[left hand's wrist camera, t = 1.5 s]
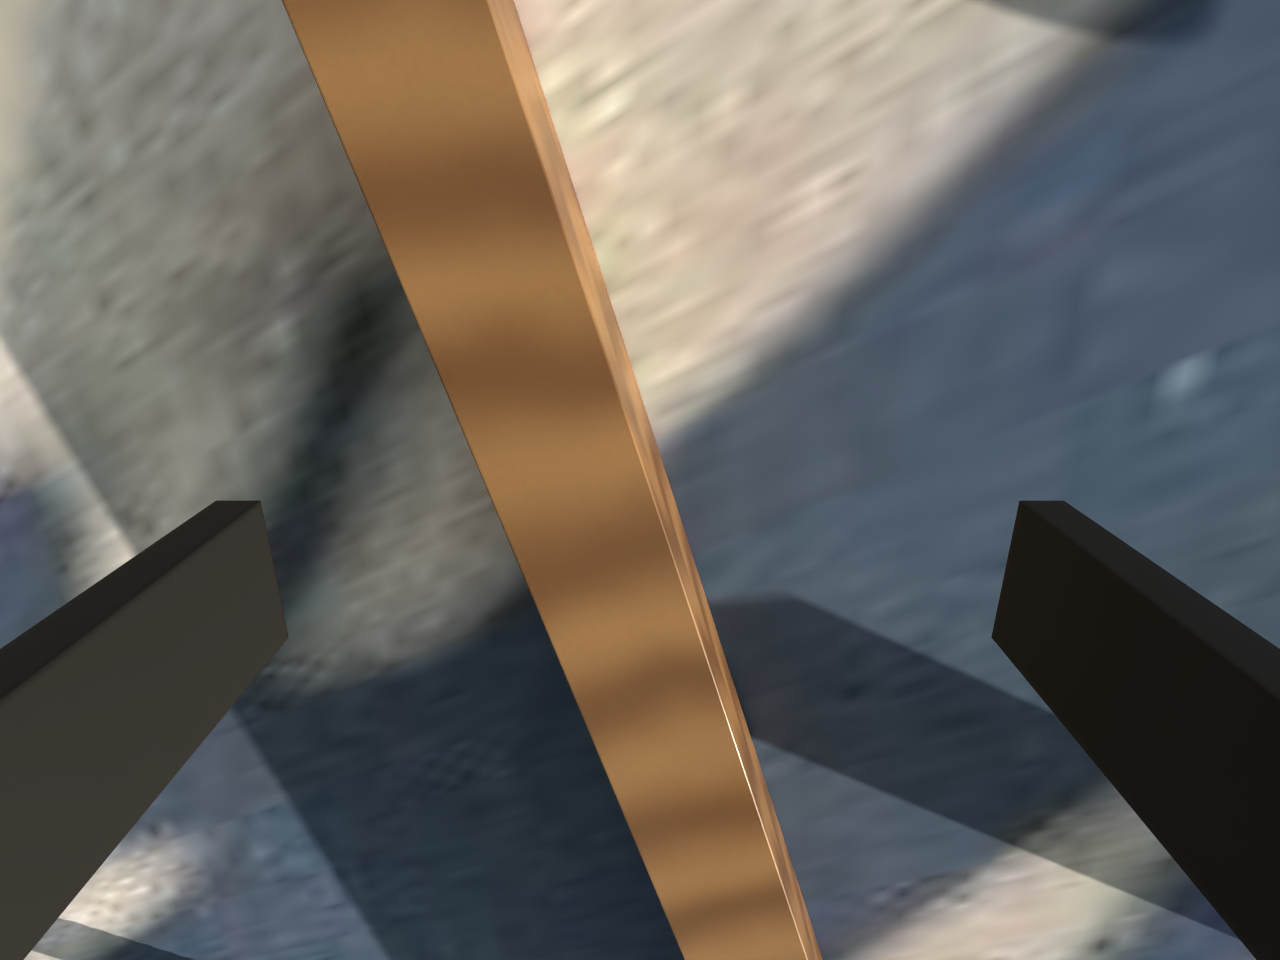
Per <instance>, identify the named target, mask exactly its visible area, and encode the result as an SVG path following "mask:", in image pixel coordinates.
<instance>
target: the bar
mask: <svg viewBox="0 0 1280 960" xmlns="http://www.w3.org/2000/svg"><path fill="white" fill-rule="evenodd" d="M282 2H283V4H284V7H285V9H286V11H287V14H288V16H289V18H290V21H291V23H292V26H293V28H294V30H295V33H296V35H297V38H298V40H299V42H300V45H301V47H302V49H303V52H304V54H305V57H306V59H307V61H308V64H309V66H310V69H311V71H312V73H313V76H314V78H315V80H316V83H317V85H318V88H319V90H320V92H321V95H322V97H323V99H324V102H325V104H326V107H327V109H328V111H329V114H330V116H331V119H332V121H333V123H334V126H335V128H336V130H337V133H338V135H339V138H340V140H341V142H342V145H343V147H344V150H345V152H346V154H347V157H348V159H349V161H350V164H351V166H352V169H353V171H354V173H355V176H356V178H357V181H358V183H359V185H360V188H361V190H362V192H363V195H364V197H365V200H366V202H367V204H368V207H369V209H370V211H371V214H372V216H373V219H374V221H375V223H376V226H377V228H378V231H379V233H380V235H381V238H382V240H383V242H384V245H385V247H386V250H387V252H388V254H389V257H390V259H391V262H392V264H393V266H394V269H395V271H396V273H397V276H398V278H399V281H400V283H401V285H402V288H403V290H404V293H405V295H406V297H407V300H408V302H409V304H410V307H411V309H412V312H413V314H414V316H415V319H416V321H417V323H418V326H419V328H420V331H421V333H422V335H423V338H424V340H425V343H426V345H427V347H428V350H429V352H430V354H431V357H432V359H433V362H434V364H435V366H436V369H437V371H438V374H439V376H440V378H441V381H442V383H443V385H444V388H445V390H446V393H447V395H448V397H449V400H450V402H451V405H452V407H453V409H454V412H455V414H456V416H457V419H458V421H459V424H460V426H461V428H462V431H463V433H464V435H465V438H466V440H467V443H468V445H469V447H470V450H471V452H472V455H473V457H474V459H475V462H476V464H477V466H478V469H479V471H480V474H481V476H482V478H483V481H484V483H485V486H486V488H487V490H488V493H489V495H490V497H491V500H492V502H493V505H494V507H495V509H496V512H497V514H498V517H499V519H500V521H501V524H502V526H503V528H504V531H505V533H506V536H507V538H508V540H509V543H510V545H511V547H512V550H513V552H514V555H515V557H516V559H517V562H518V564H519V567H520V569H521V571H522V574H523V576H524V578H525V581H526V583H527V586H528V588H529V590H530V593H531V595H532V598H533V600H534V602H535V605H536V607H537V609H538V612H539V614H540V617H541V619H542V621H543V624H544V626H545V629H546V631H547V633H548V636H549V638H550V640H551V643H552V645H553V648H554V650H555V652H556V655H557V657H558V659H559V662H560V664H561V667H562V669H563V671H564V674H565V676H566V679H567V681H568V683H569V686H570V688H571V690H572V693H573V695H574V698H575V700H576V702H577V705H578V707H579V710H580V712H581V714H582V717H583V719H584V721H585V724H586V726H587V729H588V731H589V733H590V736H591V738H592V740H593V743H594V745H595V748H596V750H597V752H598V755H599V757H600V760H601V762H602V764H603V767H604V769H605V771H606V774H607V776H608V779H609V781H610V783H611V786H612V788H613V791H614V793H615V795H616V798H617V800H618V802H619V805H620V807H621V810H622V812H623V814H624V817H625V819H626V822H627V824H628V826H629V829H630V831H631V833H632V836H633V838H634V841H635V843H636V845H637V848H638V850H639V852H640V855H641V857H642V860H643V862H644V864H645V867H646V869H647V872H648V874H649V876H650V879H651V881H652V883H653V886H654V888H655V891H656V893H657V895H658V898H659V900H660V903H661V905H662V907H663V910H664V912H665V914H666V917H667V919H668V922H669V924H670V926H671V929H672V931H673V934H674V936H675V938H676V941H677V943H678V945H679V948H680V950H681V953H682V955H683V957H684V960H823V959H822V956H821V953H820V950H819V947H818V944H817V940H816V937H815V934H814V931H813V928H812V925H811V922H810V919H809V916H808V913H807V909H806V906H805V903H804V900H803V897H802V894H801V891H800V888H799V885H798V882H797V878H796V875H795V872H794V869H793V866H792V863H791V860H790V857H789V854H788V850H787V847H786V844H785V841H784V838H783V835H782V832H781V829H780V826H779V823H778V819H777V816H776V813H775V810H774V807H773V804H772V801H771V798H770V795H769V792H768V788H767V785H766V782H765V779H764V776H763V773H762V770H761V767H760V764H759V761H758V757H757V754H756V751H755V748H754V745H753V742H752V739H751V736H750V733H749V729H748V726H747V723H746V720H745V717H744V714H743V711H742V708H741V705H740V702H739V698H738V695H737V692H736V689H735V686H734V683H733V680H732V677H731V674H730V671H729V667H728V664H727V661H726V658H725V655H724V652H723V649H722V646H721V643H720V640H719V636H718V633H717V630H716V627H715V624H714V621H713V618H712V615H711V612H710V608H709V605H708V602H707V599H706V596H705V593H704V590H703V587H702V584H701V581H700V577H699V574H698V571H697V568H696V565H695V562H694V559H693V556H692V553H691V550H690V546H689V543H688V540H687V537H686V534H685V531H684V528H683V525H682V522H681V519H680V515H679V512H678V509H677V506H676V503H675V500H674V497H673V494H672V491H671V487H670V484H669V481H668V478H667V475H666V472H665V469H664V466H663V463H662V460H661V456H660V453H659V450H658V447H657V444H656V441H655V438H654V435H653V432H652V429H651V425H650V422H649V419H648V416H647V413H646V410H645V407H644V404H643V401H642V398H641V394H640V391H639V388H638V385H637V382H636V379H635V376H634V373H633V370H632V367H631V363H630V360H629V357H628V354H627V351H626V348H625V345H624V342H623V339H622V335H621V332H620V329H619V326H618V323H617V320H616V317H615V314H614V311H613V308H612V304H611V301H610V298H609V295H608V292H607V289H606V286H605V283H604V280H603V277H602V273H601V270H600V267H599V264H598V261H597V258H596V255H595V252H594V249H593V246H592V242H591V239H590V236H589V233H588V230H587V227H586V224H585V221H584V218H583V214H582V211H581V208H580V205H579V202H578V199H577V196H576V193H575V190H574V187H573V183H572V180H571V177H570V174H569V171H568V168H567V165H566V162H565V159H564V156H563V152H562V149H561V146H560V143H559V140H558V137H557V134H556V131H555V128H554V125H553V121H552V118H551V115H550V112H549V109H548V106H547V103H546V100H545V97H544V93H543V90H542V87H541V84H540V81H539V78H538V75H537V72H536V69H535V66H534V62H533V59H532V56H531V53H530V50H529V47H528V44H527V41H526V38H525V35H524V31H523V28H522V25H521V22H520V19H519V16H518V13H517V10H516V7H515V4H514V0H282Z"/></svg>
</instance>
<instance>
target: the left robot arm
mask: <svg viewBox="0 0 1280 960" xmlns="http://www.w3.org/2000/svg"><path fill="white" fill-rule="evenodd" d="M287 638H288V633H287V628H286V623H285V618H284V613H283V608H282V604H281V599H280V594H279V589H278V584H277V579H276V574H275V569H274V564H273V560H272V555H271V550H270V545H269V540H268V535H267V530H266V525H265V521H264V516H263V511H262V506H261V501H215V502H214V503H212V504H211V505H209V506H208V507H206V508H205V509H203V510H202V511H201V512H199V513H198V514H196V515H195V516H193V517H192V518H190V519H189V520H187V521H186V522H185V523H183V524H182V525H180V526H179V527H177V528H176V529H174V530H173V531H171V532H170V533H169V534H167V535H166V536H164V537H163V538H161V539H160V540H158V541H157V542H155V543H154V544H153V545H151V546H150V547H148V548H147V549H145V550H144V551H142V552H141V553H139V554H138V555H136V556H135V557H134V558H132V559H131V560H129V561H128V562H126V563H125V564H123V565H122V566H120V567H119V568H118V569H116V570H115V571H113V572H112V573H110V574H109V575H107V576H106V577H104V578H103V579H102V580H100V581H99V582H97V583H96V584H94V585H93V586H91V587H90V588H88V589H87V590H86V591H84V592H83V593H81V594H80V595H78V596H77V597H75V598H74V599H72V600H71V601H70V602H68V603H67V604H65V605H64V606H62V607H61V608H59V609H58V610H56V611H55V612H54V613H52V614H51V615H49V616H48V617H46V618H45V619H43V620H42V621H40V622H39V623H38V624H36V625H35V626H33V627H32V628H30V629H29V630H27V631H26V632H24V633H23V634H22V635H20V636H19V637H17V638H16V639H14V640H13V641H11V642H10V643H8V644H7V645H6V646H4V647H3V648H1V649H0V960H24V958H25V957H26V956H27V955H28V954H29V952H30V951H31V950H32V949H33V947H34V946H35V945H36V944H37V943H38V941H39V940H40V939H41V938H42V937H43V935H44V934H45V933H46V932H47V930H48V929H49V928H50V927H51V926H52V924H53V923H54V922H55V921H56V919H57V918H58V917H59V916H60V915H61V913H62V912H63V911H64V910H65V909H66V907H67V906H68V905H69V904H70V902H71V901H72V900H73V899H74V898H75V896H76V895H77V894H78V893H79V892H80V890H81V889H82V888H83V887H84V885H85V884H86V883H87V882H88V881H89V879H90V878H91V877H92V876H93V874H94V873H95V872H96V871H97V870H98V868H99V867H100V866H101V865H102V864H103V862H104V861H105V860H106V859H107V857H108V856H109V855H110V854H111V853H112V851H113V850H114V849H115V848H116V846H117V845H118V844H119V843H120V842H121V840H122V839H123V838H124V837H125V836H126V834H127V833H128V832H129V831H130V829H131V828H132V827H133V826H134V825H135V823H136V822H137V821H138V820H139V818H140V817H141V816H142V815H143V814H144V812H145V811H146V810H147V809H148V808H149V806H150V805H151V804H152V803H153V801H154V800H155V799H156V798H157V797H158V795H159V794H160V793H161V792H162V791H163V789H164V788H165V787H166V786H167V784H168V783H169V782H170V781H171V780H172V778H173V777H174V776H175V775H176V773H177V772H178V771H179V770H180V769H181V767H182V766H183V765H184V764H185V763H186V761H187V760H188V759H189V758H190V756H191V755H192V754H193V753H194V752H195V750H196V749H197V748H198V747H199V745H200V744H201V743H202V742H203V741H204V739H205V738H206V737H207V736H208V735H209V733H210V732H211V731H212V730H213V728H214V727H215V726H216V725H217V724H218V722H219V721H220V720H221V719H222V718H223V716H224V715H225V714H226V713H227V711H228V710H229V709H230V708H231V707H232V705H233V704H234V703H235V702H236V700H237V699H238V698H239V697H240V696H241V694H242V693H243V692H244V691H245V690H246V688H247V687H248V686H249V685H250V683H251V682H252V681H253V680H254V679H255V677H256V676H257V675H258V674H259V672H260V671H261V670H262V669H263V668H264V666H265V665H266V664H267V663H268V662H269V660H270V659H271V658H272V657H273V655H274V654H275V653H276V652H277V651H278V649H279V648H280V647H281V646H282V645H283V643H284V642H285V641H286V640H287ZM992 638H993V640H994V641H995V642H996V643H997V645H998V646H999V647H1000V648H1001V649H1002V651H1003V652H1004V653H1005V654H1006V655H1007V657H1008V658H1009V659H1010V660H1011V662H1012V663H1013V664H1014V665H1015V666H1016V668H1017V669H1018V670H1019V671H1020V672H1021V674H1022V675H1023V676H1024V677H1025V679H1026V680H1027V681H1028V682H1029V683H1030V685H1031V686H1032V687H1033V688H1034V690H1035V691H1036V692H1037V693H1038V694H1039V696H1040V697H1041V698H1042V699H1043V700H1044V702H1045V703H1046V704H1047V705H1048V707H1049V708H1050V709H1051V710H1052V711H1053V713H1054V714H1055V715H1056V716H1057V718H1058V719H1059V720H1060V721H1061V722H1062V724H1063V725H1064V726H1065V727H1066V728H1067V730H1068V731H1069V732H1070V733H1071V735H1072V736H1073V737H1074V738H1075V739H1076V741H1077V742H1078V743H1079V744H1080V745H1081V747H1082V748H1083V749H1084V750H1085V752H1086V753H1087V754H1088V755H1089V756H1090V758H1091V759H1092V760H1093V761H1094V763H1095V764H1096V765H1097V766H1098V767H1099V769H1100V770H1101V771H1102V772H1103V773H1104V775H1105V776H1106V777H1107V778H1108V780H1109V781H1110V782H1111V783H1112V784H1113V786H1114V787H1115V788H1116V789H1117V791H1118V792H1119V793H1120V794H1121V795H1122V797H1123V798H1124V799H1125V800H1126V801H1127V803H1128V804H1129V805H1130V806H1131V808H1132V809H1133V810H1134V811H1135V812H1136V814H1137V815H1138V816H1139V817H1140V819H1141V820H1142V821H1143V822H1144V823H1145V825H1146V826H1147V827H1148V828H1149V829H1150V831H1151V832H1152V833H1153V834H1154V836H1155V837H1156V838H1157V839H1158V840H1159V842H1160V843H1161V844H1162V845H1163V846H1164V848H1165V849H1166V850H1167V851H1168V853H1169V854H1170V855H1171V856H1172V857H1173V859H1174V860H1175V861H1176V862H1177V864H1178V865H1179V866H1180V867H1181V868H1182V870H1183V871H1184V872H1185V873H1186V874H1187V876H1188V877H1189V878H1190V879H1191V881H1192V882H1193V883H1194V884H1195V885H1196V887H1197V888H1198V889H1199V890H1200V892H1201V893H1202V894H1203V895H1204V896H1205V898H1206V899H1207V900H1208V901H1209V902H1210V904H1211V905H1212V906H1213V907H1214V909H1215V910H1216V911H1217V912H1218V913H1219V915H1220V916H1221V917H1222V918H1223V919H1224V921H1225V922H1226V923H1227V924H1228V926H1229V927H1230V928H1231V929H1232V930H1233V932H1234V933H1235V934H1236V935H1237V937H1238V938H1239V939H1240V940H1241V941H1242V943H1243V944H1244V945H1245V946H1246V947H1247V949H1248V950H1249V951H1250V952H1251V954H1252V955H1253V956H1254V957H1255V958H1256V960H1280V649H1279V648H1277V647H1276V646H1274V645H1273V644H1272V643H1270V642H1269V641H1267V640H1266V639H1264V638H1263V637H1261V636H1260V635H1258V634H1257V633H1256V632H1254V631H1253V630H1251V629H1250V628H1248V627H1247V626H1245V625H1244V624H1242V623H1241V622H1240V621H1238V620H1237V619H1235V618H1234V617H1232V616H1231V615H1229V614H1228V613H1226V612H1225V611H1224V610H1222V609H1221V608H1219V607H1218V606H1216V605H1215V604H1213V603H1212V602H1210V601H1209V600H1208V599H1206V598H1205V597H1203V596H1202V595H1200V594H1199V593H1197V592H1196V591H1194V590H1193V589H1192V588H1190V587H1189V586H1187V585H1186V584H1184V583H1183V582H1181V581H1180V580H1178V579H1177V578H1176V577H1174V576H1173V575H1171V574H1170V573H1168V572H1167V571H1165V570H1164V569H1162V568H1161V567H1160V566H1158V565H1157V564H1155V563H1154V562H1152V561H1151V560H1149V559H1148V558H1146V557H1145V556H1144V555H1142V554H1141V553H1139V552H1138V551H1136V550H1135V549H1133V548H1132V547H1130V546H1129V545H1127V544H1126V543H1125V542H1123V541H1122V540H1120V539H1119V538H1117V537H1116V536H1114V535H1113V534H1111V533H1110V532H1109V531H1107V530H1106V529H1104V528H1103V527H1101V526H1100V525H1098V524H1097V523H1095V522H1094V521H1093V520H1091V519H1090V518H1088V517H1087V516H1085V515H1084V514H1082V513H1081V512H1079V511H1078V510H1077V509H1075V508H1074V507H1072V506H1071V505H1069V504H1068V503H1066V502H1065V501H1019V506H1018V511H1017V516H1016V520H1015V525H1014V530H1013V535H1012V540H1011V545H1010V550H1009V555H1008V560H1007V564H1006V569H1005V574H1004V579H1003V584H1002V589H1001V594H1000V599H999V604H998V608H997V613H996V618H995V623H994V628H993V633H992Z"/></svg>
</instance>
